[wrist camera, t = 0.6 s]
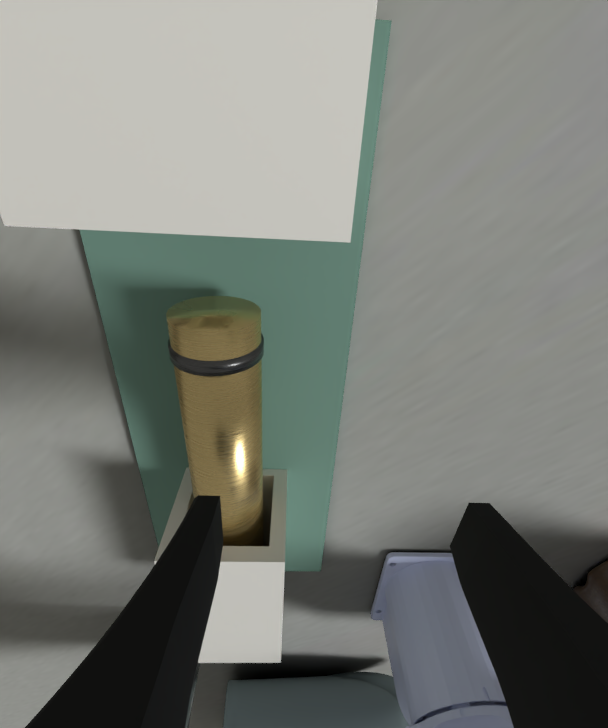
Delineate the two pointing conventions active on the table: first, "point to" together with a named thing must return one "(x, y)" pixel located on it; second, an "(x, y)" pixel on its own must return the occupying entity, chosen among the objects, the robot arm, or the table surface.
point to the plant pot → (596, 590)
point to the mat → (278, 326)
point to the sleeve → (244, 582)
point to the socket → (184, 115)
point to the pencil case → (314, 702)
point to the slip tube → (222, 406)
